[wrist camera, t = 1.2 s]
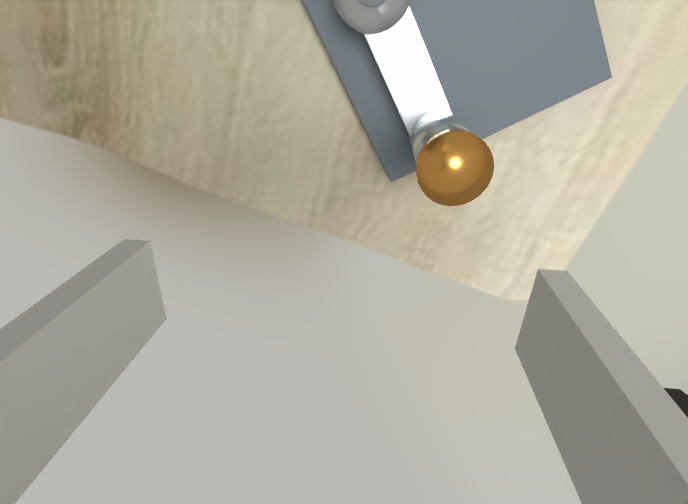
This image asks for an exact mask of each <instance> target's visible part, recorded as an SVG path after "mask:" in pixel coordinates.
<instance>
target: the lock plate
mask: <svg viewBox="0 0 688 504" xmlns="http://www.w3.org/2000/svg"><path fill="white" fill-rule="evenodd" d="M302 1H303V3H304V5H305V7H306V9H307V11H308V13H309V15H310V17H311V19H312V21H313V23H314V25H315V27H316V29H317V31H318V33H319V35H320V37H321V39H322V41H323V44H324V46H325V48H326V50H327V52H328V54H329V56H330V58H331V60H332V62H333V64H334V66H335V68H336V70H337V72H338V74H339V76H340V78H341V80H342V82H343V84H344V87H345V89H346V91H347V93H348V95H349V97H350V99H351V101H352V103H353V105H354V107H355V109H356V111H357V113H358V115H359V117H360V119H361V121H362V123H363V125H364V127H365V129H366V132H367V134H368V136H369V138H370V140H371V142H372V144H373V146H374V148H375V150H376V152H377V154H378V156H379V158H380V160H381V162H382V164H383V166H384V168H385V170H386V172H387V175H388V177H389V179H390V181H391V182H392V181H394V180H397V179H399V178H401V177H403V176H405V175H407V174H409V173H411V172H413V171H416V162H415V158H414V155H413V151H412V147H411V143H410V139H409V133H408V130H407V128H406V126H405V124H404V121H403V119H402V117H401V115H400V112H399V110H398V108H397V106H396V104H395V101H394V99H393V97H392V95H391V92H390V90H389V88H388V86H387V83H386V81H385V79H384V77H383V75H382V72H381V70H380V68H379V66H378V63H377V61H376V59H375V57H374V54H373V52H372V50H371V48H370V45H369V43H368V41H367V39H366V37H365V34H362V33H360V32H358V31H356V30H354V29H353V28H352V27H350V26H349V25H348V24H347V23H345V21H344V20H343V19H342V18H341V17H340V15H339V13H338V12H337V10H336V7H335V5H334V2H333V0H302ZM358 1H359V2H360V3H361V4H362V5H364V6H366V7H370V8H372V7H377V6H379V5H381V4H382V3H384V2H385V0H358ZM409 7H410V9H411V12H412V14H413V17H414V19H415V22H416V24H417V27H418V29H419V32H420V35H421V37H422V40H423V42H424V45H425V47H426V50H427V52H428V55H429V57H430V60H431V62H432V65H433V67H434V70H435V72H436V75H437V77H438V80H439V82H440V85H441V87H442V90H443V92H444V95H445V97H446V100H447V102H448V105H449V108H450V110H451V113H452V115H453V116H454V117H455V118H456V119H457V120H458V121H459V122H460V123H461V124H462V125H463V126H464V127H465V128H467V129H468V130H469V131H470V132H472V133H474V134H475V135H477V136H478V137H479V138H480V139H483V138H485V137H487V136H489V135H491V134H494V133H496V132H498V131H500V130H502V129H504V128H506V127H508V126H510V125H513V124H515V123H517V122H519V121H521V120H523V119H525V118H527V117H529V116H532V115H534V114H536V113H538V112H540V111H542V110H544V109H546V108H548V107H551V106H553V105H555V104H557V103H559V102H561V101H563V100H565V99H567V98H570V97H572V96H574V95H576V94H578V93H580V92H582V91H584V90H586V89H589V88H591V87H593V86H595V85H597V84H599V83H601V82H603V81H605V80H608V79H610V78H612V76H611V71H610V67H609V63H608V59H607V54H606V50H605V46H604V42H603V37H602V33H601V29H600V24H599V20H598V16H597V12H596V7H595V3H594V0H411V2H410V5H409Z"/></svg>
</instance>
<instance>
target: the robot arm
mask: <svg viewBox="0 0 688 504" xmlns="http://www.w3.org/2000/svg"><path fill="white" fill-rule="evenodd" d="M164 320H166V315H165V310H164V305H163V301H162V296H161V291H160V287H159V282H158V277H157V272H156V269H155V263H154V259H153V254H152V249H151V244H150V241H139V240H126V239H125V240H123V241H122V242H121V243H119V244H117V245H116V246H115V247H113V248H112V249H111V250H109V251H108V252H107V253H105V254H104V255H102V256H101V257H100V258H98V259H97V260H95V261H94V262H93V263H91V264H90V265H88V266H87V267H86V268H84V269H83V270H82V271H80V272H79V273H78V274H76V275H75V276H73V277H72V278H70V279H69V280H68V281H66V282H65V283H64V284H62V285H61V286H60V287H58V288H57V289H55V290H54V291H53V292H51V293H50V294H48V295H47V296H46V297H44V298H43V299H42V300H40V301H39V302H37V303H36V304H35V305H33V306H32V307H30V308H29V309H28V310H26V311H25V312H24V313H22V314H21V315H19V316H18V317H17V318H15V319H14V320H13V321H11V322H10V323H8V324H7V325H6V326H4V327H3V328H1V329H0V504H15V503H16V501H17V500H18V499H19V498H20V497H21V495H22V494H23V493H24V492H25V490H26V489H27V488H28V487H29V486H30V484H31V483H32V482H33V481H34V479H35V478H36V477H37V476H38V475H39V473H40V472H41V471H42V470H43V468H44V467H45V466H46V465H47V463H48V462H49V461H50V460H51V459H52V457H53V456H54V455H55V454H56V453H57V451H58V450H59V449H60V448H61V446H62V445H63V444H64V443H65V442H66V440H67V439H68V438H69V437H70V435H71V434H72V433H73V432H74V430H75V429H76V428H77V427H78V426H79V425H80V423H81V422H82V421H83V420H84V418H85V417H86V416H87V415H88V414H89V412H90V411H91V410H92V409H93V407H94V406H95V405H96V404H97V402H98V401H99V400H100V399H101V397H102V396H103V395H104V394H105V393H106V392H107V390H108V389H109V388H110V387H111V385H112V384H113V383H114V382H115V381H116V379H117V378H118V377H119V376H120V374H121V373H122V372H123V371H124V370H125V368H126V367H127V366H128V365H129V363H130V362H131V361H132V360H133V359H134V357H135V356H136V355H137V354H138V352H139V351H140V350H141V349H142V348H143V346H144V345H145V344H146V343H147V341H148V340H149V339H150V338H151V337H152V335H153V334H154V333H155V331H156V330H157V329H158V328H159V327H160V326H161V324H162V323H163V322H164ZM515 350H516V352H517V355H518V357H519V359H520V361H521V364H522V366H523V368H524V370H525V373H526V375H527V377H528V380H529V382H530V385H531V387H532V389H533V392H534V394H535V396H536V398H537V401H538V403H539V405H540V408H541V410H542V412H543V415H544V417H545V419H546V422H547V424H548V426H549V428H550V431H551V433H552V436H553V438H554V440H555V442H556V445H557V447H558V449H559V452H560V454H561V456H562V459H563V461H564V463H565V466H566V468H567V470H568V473H569V475H570V477H571V480H572V482H573V484H574V486H575V489H576V491H577V493H578V496H579V498H580V500H581V503H582V504H688V395H687V394H685V393H684V392H683V391H681V390H680V389H669V388H663V387H662V386H661V385H660V383H659V382H658V381H657V380H656V379H655V377H654V376H653V375H652V374H651V372H650V371H649V370H648V369H647V368H646V366H645V365H644V364H643V363H642V361H641V360H640V359H639V358H638V357H637V355H636V354H635V353H634V352H633V351H632V349H631V348H630V347H629V346H628V345H627V343H626V342H625V341H624V340H623V338H622V337H621V336H620V335H619V334H618V332H617V331H616V330H615V329H614V327H613V326H612V325H611V324H610V323H609V321H608V320H607V319H606V318H605V317H604V315H603V314H602V313H601V312H600V311H599V309H598V308H597V307H596V305H595V304H594V303H593V302H592V301H591V299H590V298H589V297H588V296H587V295H586V293H585V292H584V291H583V290H582V288H581V287H580V286H579V285H578V284H577V282H576V281H575V280H574V279H573V277H572V276H571V275H570V274H569V273H568V271H557V270H543V269H538V271H537V275H536V278H535V282H534V285H533V288H532V292H531V295H530V299H529V303H528V306H527V309H526V312H525V316H524V319H523V322H522V326H521V329H520V333H519V336H518V340H517V343H516V346H515Z"/></svg>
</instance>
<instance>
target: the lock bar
mask: <svg viewBox="0 0 688 504" xmlns="http://www.w3.org/2000/svg"><path fill="white" fill-rule="evenodd" d="M333 2H334V5H335V7H336V10H337V12H338V13H339V15H340V17H341V18H342V19H343V20H344V21H345V23H347V24H348V25H349V26H350V27H352V28H353V29H354V30H356V31H358V32H360V33H362V34H365V37H366V39H367V41H368V43H369V45H370V48H371V50H372V52H373V54H374V57H375V59H376V61H377V63H378V66H379V68H380V70H381V72H382V75H383V77H384V79H385V81H386V83H387V86H388V88H389V90H390V92H391V95H392V97H393V99H394V101H395V104H396V106H397V108H398V110H399V112H400V115H401V117H402V119H403V121H404V124H405V126H406V128H407V130H408V133H409V139H410V143H411V147H412V151H413V155H414V158H415V162H416V174H417V178H418V182H419V185H420V187H421V189H422V191H423V192H424V194H425V195H426V196H427V197H428V198H430V199H431V200H433V201H434V202H436V203H439V204H442V205H447V206H456V205H462V204H465V203H468V202H470V201H472V200H474V199H475V198H477V197H478V196H479V195H480V194H481V193H482V192H483V191H484V190H485V189H486V187H487V186H488V184H489V183H490V180H491V178H492V175H493V170H494V161H493V156H492V153H491V151H490V149H489V147H488V146H487V145H486V143H485V142H484V141H483V140H482V139H480V138H479V137H478V136H477V135H475V134H474V133H472V132H470V131H469V130H468V129H467V128H465V127H464V126H463V125H462V124H461V123H460V122H459V121H458V120H457V119H456V118H455V117H454V116H453V115H452V113H451V110H450V108H449V105H448V102H447V100H446V97H445V95H444V92H443V90H442V87H441V85H440V82H439V80H438V77H437V75H436V72H435V70H434V67H433V65H432V62H431V60H430V57H429V55H428V52H427V50H426V47H425V45H424V42H423V40H422V37H421V35H420V32H419V29H418V27H417V24H416V22H415V19H414V17H413V14H412V12H411V9H410V7H409V5H410V2H411V0H385V2H384V3H382V4H381V5H379V6H377V7H372V8H370V7H366V6H364V5H362V4H361V3H360V2H359V1H358V0H333Z"/></svg>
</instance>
